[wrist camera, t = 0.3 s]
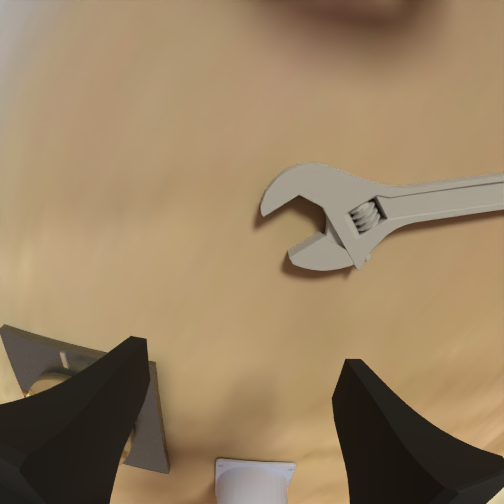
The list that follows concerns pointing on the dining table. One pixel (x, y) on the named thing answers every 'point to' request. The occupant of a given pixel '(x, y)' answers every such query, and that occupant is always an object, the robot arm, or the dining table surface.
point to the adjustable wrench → (371, 209)
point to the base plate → (74, 361)
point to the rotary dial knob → (56, 378)
